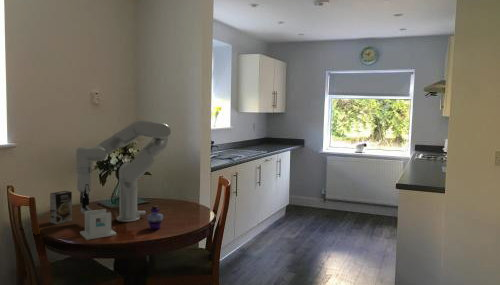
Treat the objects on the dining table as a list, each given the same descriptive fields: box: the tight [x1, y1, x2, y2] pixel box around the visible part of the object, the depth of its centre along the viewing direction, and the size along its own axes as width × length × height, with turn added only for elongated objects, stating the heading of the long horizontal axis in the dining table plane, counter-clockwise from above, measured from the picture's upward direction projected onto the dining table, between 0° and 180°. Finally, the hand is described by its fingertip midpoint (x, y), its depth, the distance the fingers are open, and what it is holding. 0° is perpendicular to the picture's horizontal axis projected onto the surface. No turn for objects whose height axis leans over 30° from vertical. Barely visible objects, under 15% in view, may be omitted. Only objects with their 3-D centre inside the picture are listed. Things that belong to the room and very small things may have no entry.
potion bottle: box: [146, 205, 164, 231], centre depth 209 cm, size 9×9×12 cm
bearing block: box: [79, 208, 117, 241], centre depth 198 cm, size 14×12×11 cm
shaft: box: [80, 191, 99, 222], centre depth 210 cm, size 3×22×12 cm, turn 36°
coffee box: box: [49, 190, 73, 225], centre depth 219 cm, size 9×6×16 cm
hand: (84, 203), depth 218 cm, fingers open, 4 cm apart
